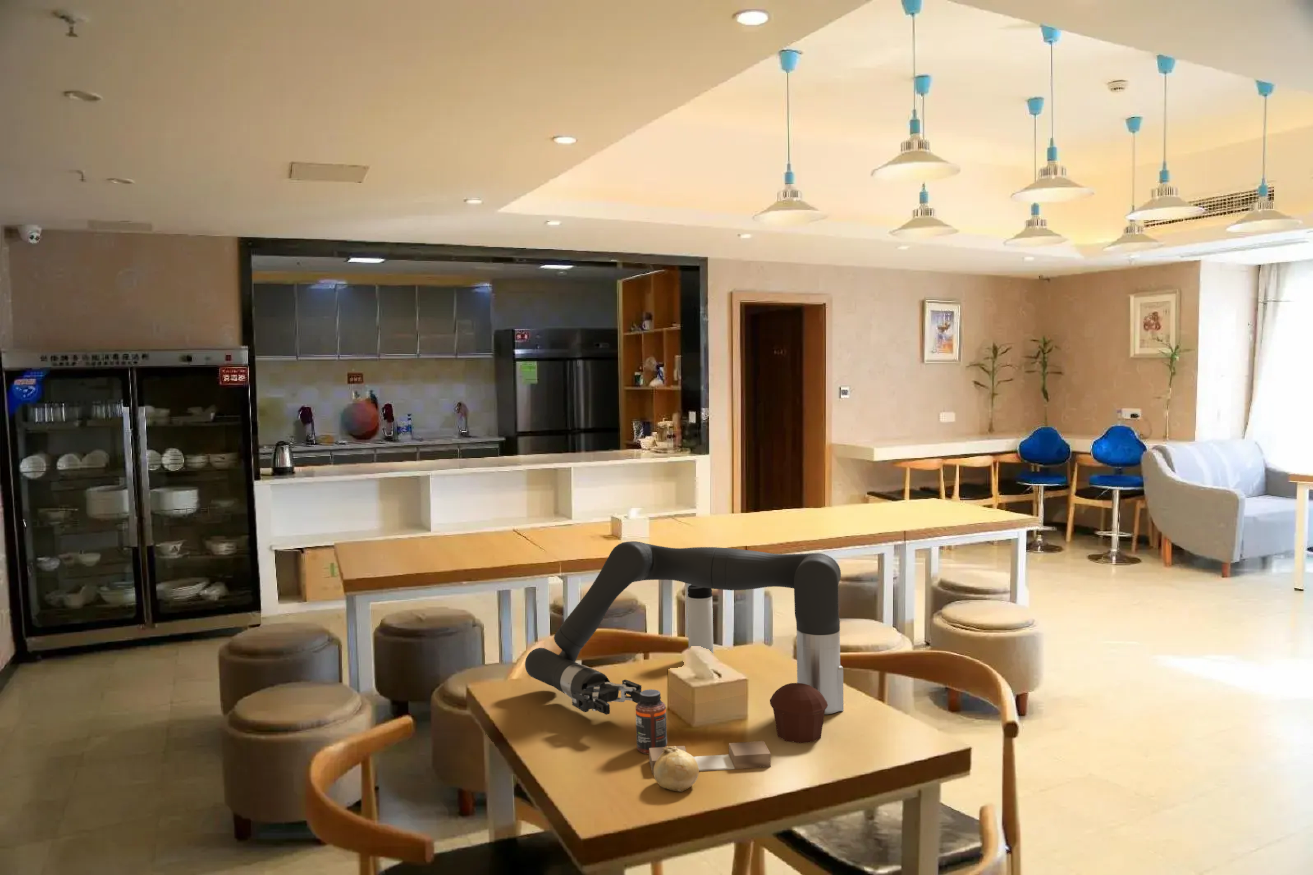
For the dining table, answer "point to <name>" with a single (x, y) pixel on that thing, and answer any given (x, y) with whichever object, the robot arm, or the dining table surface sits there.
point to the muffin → (798, 712)
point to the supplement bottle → (650, 721)
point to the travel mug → (700, 617)
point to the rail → (726, 757)
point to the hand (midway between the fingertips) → (626, 704)
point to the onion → (675, 769)
